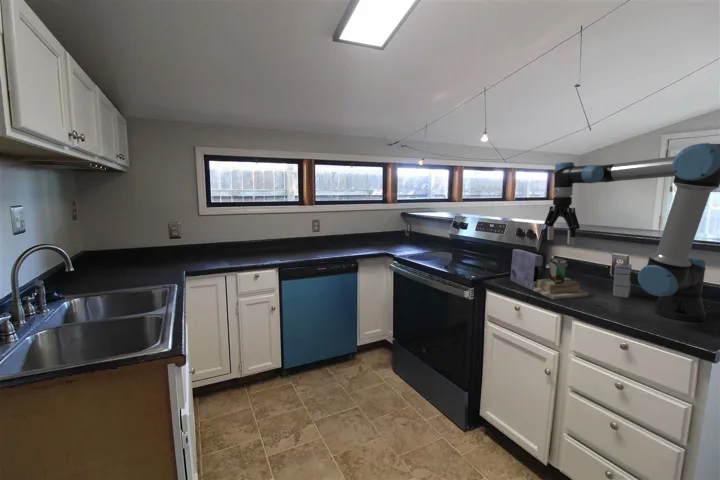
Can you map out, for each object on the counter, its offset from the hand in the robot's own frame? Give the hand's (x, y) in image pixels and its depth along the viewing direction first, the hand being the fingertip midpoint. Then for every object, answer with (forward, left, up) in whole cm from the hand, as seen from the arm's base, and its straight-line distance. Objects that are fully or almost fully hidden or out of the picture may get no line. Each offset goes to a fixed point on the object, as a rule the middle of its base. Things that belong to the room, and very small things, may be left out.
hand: (560, 241), depth 166 cm
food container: (-1, 0, -19) cm, 19 cm away
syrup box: (-11, -24, -25) cm, 36 cm away
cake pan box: (+14, +8, -25) cm, 30 cm away
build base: (0, 0, -25) cm, 25 cm away
